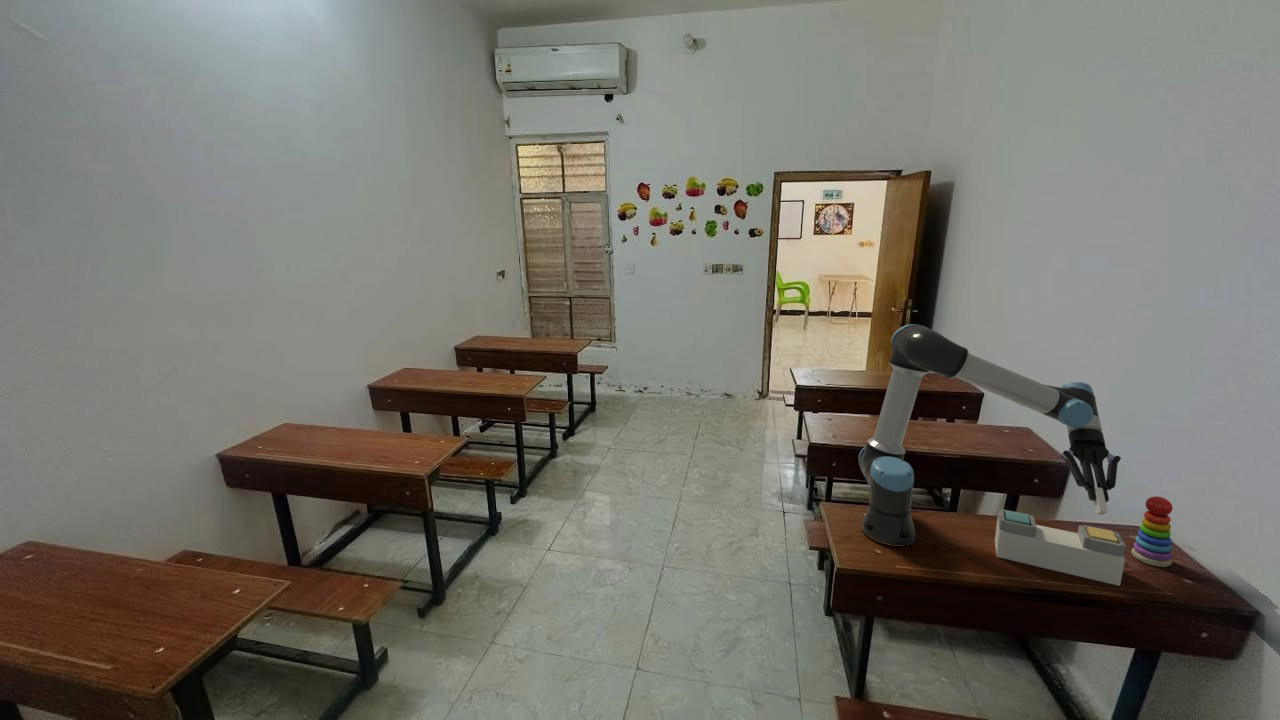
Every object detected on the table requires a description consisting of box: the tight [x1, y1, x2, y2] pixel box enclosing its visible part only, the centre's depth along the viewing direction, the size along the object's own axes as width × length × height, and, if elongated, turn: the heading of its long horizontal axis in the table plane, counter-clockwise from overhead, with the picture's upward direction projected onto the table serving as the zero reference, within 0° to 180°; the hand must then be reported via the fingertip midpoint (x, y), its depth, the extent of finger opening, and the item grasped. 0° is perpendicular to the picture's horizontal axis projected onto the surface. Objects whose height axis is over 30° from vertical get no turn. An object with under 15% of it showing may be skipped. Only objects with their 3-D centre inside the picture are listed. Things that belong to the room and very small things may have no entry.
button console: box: [994, 509, 1127, 587], centre depth 136 cm, size 26×9×11 cm, turn 58°
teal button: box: [1004, 509, 1030, 525], centre depth 140 cm, size 5×5×4 cm
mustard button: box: [1086, 525, 1118, 543], centre depth 131 cm, size 5×5×4 cm
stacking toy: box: [1130, 496, 1173, 568], centre depth 135 cm, size 8×8×19 cm
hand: (1101, 512), depth 131 cm, fingers closed
